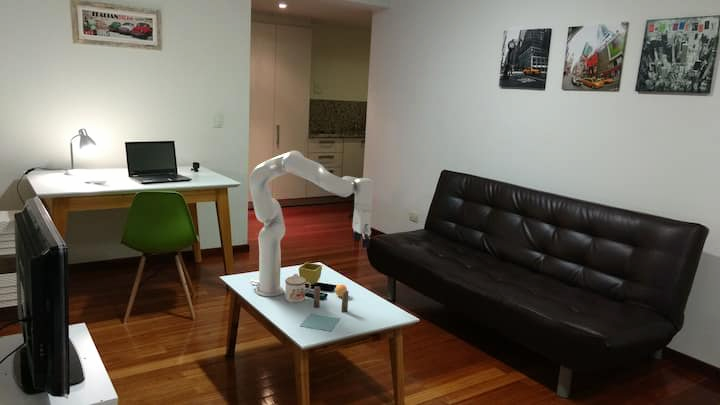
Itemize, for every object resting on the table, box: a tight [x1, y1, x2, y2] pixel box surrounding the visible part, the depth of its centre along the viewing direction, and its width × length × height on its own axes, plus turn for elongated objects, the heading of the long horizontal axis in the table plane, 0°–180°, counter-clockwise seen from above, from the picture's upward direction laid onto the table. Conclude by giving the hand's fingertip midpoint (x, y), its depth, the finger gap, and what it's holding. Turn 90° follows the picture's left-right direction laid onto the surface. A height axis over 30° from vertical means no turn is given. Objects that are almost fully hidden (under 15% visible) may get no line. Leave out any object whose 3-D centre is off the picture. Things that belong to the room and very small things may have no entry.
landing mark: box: [299, 313, 341, 332], centre depth 227 cm, size 13×13×1 cm
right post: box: [341, 290, 349, 314], centre depth 238 cm, size 3×3×9 cm
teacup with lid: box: [284, 273, 312, 304], centre depth 248 cm, size 12×9×12 cm
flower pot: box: [298, 262, 323, 284], centre depth 267 cm, size 9×9×9 cm
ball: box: [334, 283, 348, 297], centre depth 255 cm, size 6×6×6 cm
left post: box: [313, 286, 321, 309], centre depth 240 cm, size 3×3×9 cm
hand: (361, 244), depth 247 cm, fingers open, 9 cm apart
